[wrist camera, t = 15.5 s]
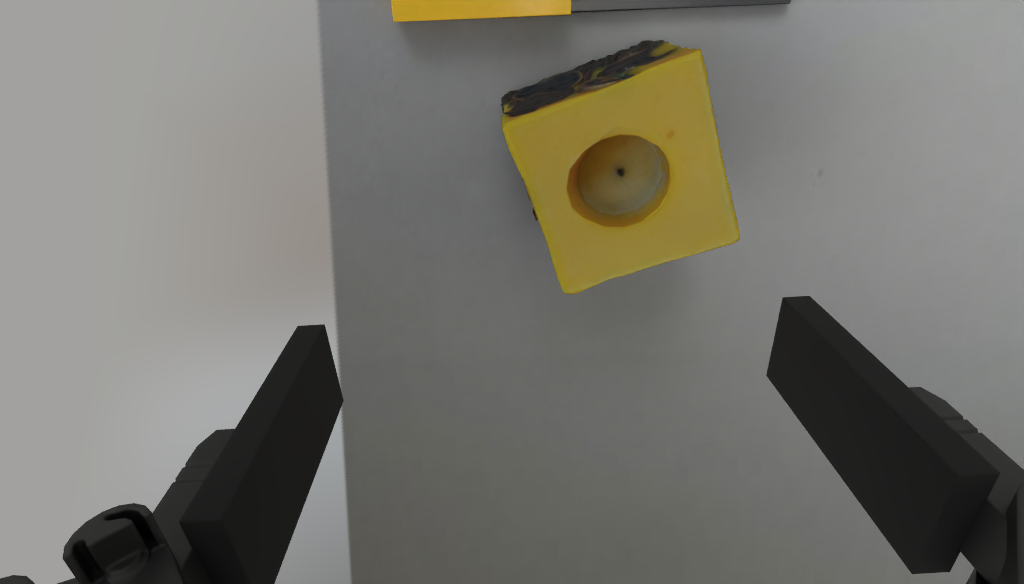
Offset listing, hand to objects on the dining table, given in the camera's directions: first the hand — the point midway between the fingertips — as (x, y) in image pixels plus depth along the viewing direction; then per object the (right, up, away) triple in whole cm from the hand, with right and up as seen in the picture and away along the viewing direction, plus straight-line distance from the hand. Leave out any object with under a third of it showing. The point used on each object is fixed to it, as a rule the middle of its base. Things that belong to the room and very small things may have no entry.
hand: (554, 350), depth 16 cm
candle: (+4, +12, +20) cm, 24 cm away
